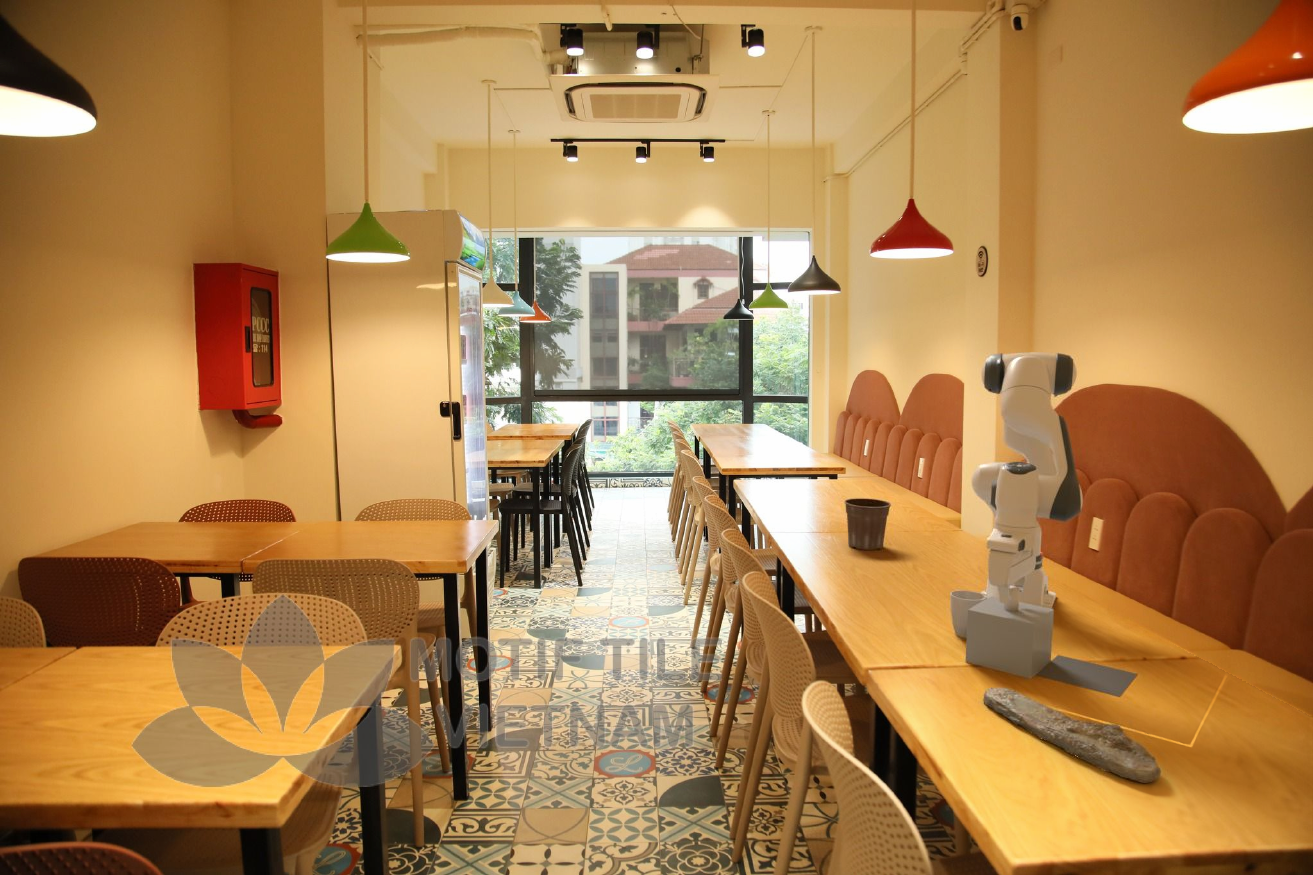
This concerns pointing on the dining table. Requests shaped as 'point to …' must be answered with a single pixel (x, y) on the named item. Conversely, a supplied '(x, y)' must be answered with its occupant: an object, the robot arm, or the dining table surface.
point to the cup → (963, 609)
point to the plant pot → (866, 522)
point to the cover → (1009, 635)
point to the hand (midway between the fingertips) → (1011, 598)
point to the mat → (1088, 675)
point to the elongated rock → (1077, 735)
